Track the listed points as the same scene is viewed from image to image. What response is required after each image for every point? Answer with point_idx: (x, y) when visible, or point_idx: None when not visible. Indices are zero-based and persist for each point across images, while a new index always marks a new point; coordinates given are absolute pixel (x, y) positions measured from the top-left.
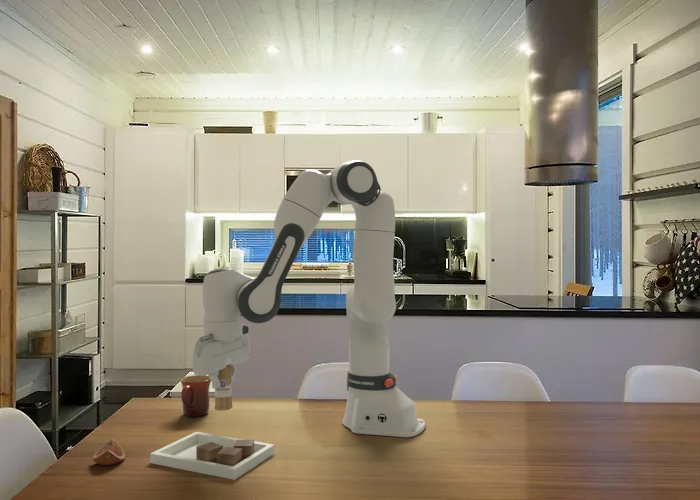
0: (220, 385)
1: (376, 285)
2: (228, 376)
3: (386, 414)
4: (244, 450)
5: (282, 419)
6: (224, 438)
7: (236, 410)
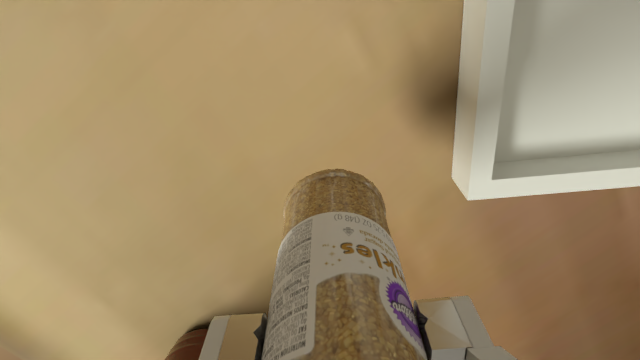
0: (430, 309)
1: None
2: (368, 352)
3: None
4: None
5: (6, 67)
6: (511, 26)
7: (92, 285)
